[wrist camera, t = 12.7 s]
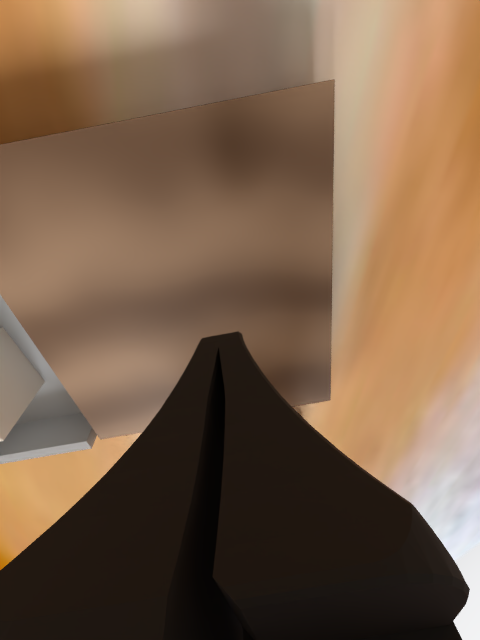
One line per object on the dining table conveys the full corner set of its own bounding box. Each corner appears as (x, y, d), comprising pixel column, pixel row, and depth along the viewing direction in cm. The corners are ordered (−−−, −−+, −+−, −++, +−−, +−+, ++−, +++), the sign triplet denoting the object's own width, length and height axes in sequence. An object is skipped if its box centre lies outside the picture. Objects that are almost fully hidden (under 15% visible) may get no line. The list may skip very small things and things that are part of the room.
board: (319, 375, 21) (330, 400, 19) (110, 411, 22) (100, 439, 20) (314, 89, 12) (334, 79, 10) (-43, 158, 13) (-91, 162, 11)
